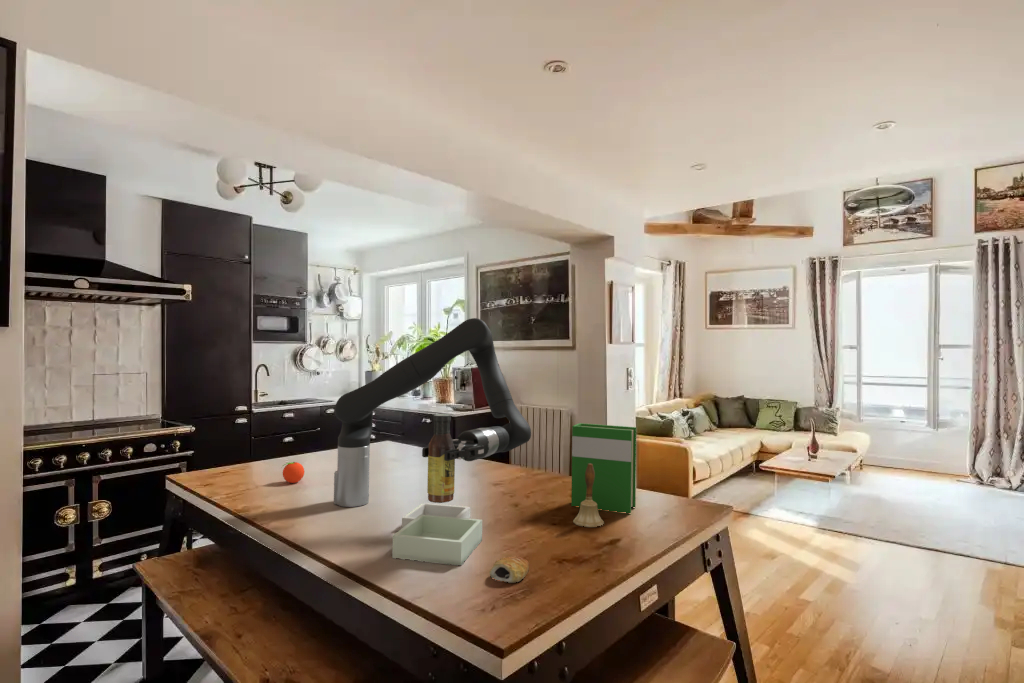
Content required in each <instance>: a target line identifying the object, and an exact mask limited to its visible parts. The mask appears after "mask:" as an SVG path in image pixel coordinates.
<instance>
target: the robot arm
mask: <svg viewBox="0 0 1024 683" xmlns="http://www.w3.org/2000/svg"><path fill="white" fill-rule="evenodd" d="M467 351H468V352H469V353H470V355H471V357H472V358H473V361H474V362H475V364H476V367H477V369H478V372H479V376H480V379H481V384H482V389H483V392H484V395H485V399H486V402H487V405H488V407H489V410H490V412H491V415H492V417H493V418H496V419H502V418H506V419H507V420H508V423H506V424H504V425H502V426H498V425H497V426H495V425H494V426H489V427H479V428H474V429H470V430H464V431H462V432H461V433H460V434H458V436H457V437H456V438H455V439H453V438H452V441H453V444H454V447H455V449H452V450H448V451H445V453H444V460H445V461H450V460H454V459H455V460H463V461H465V462H474V461H477V460H481V459H483V458H484V459H485V458H487V457H490V456H491V455H494V454H497V453H507V452H509V451H512V450H514V449H516V448H518V447H520V446H522V445H525V444H526V443H528V442H529V441H530V440H531V437H532V429H531V427H530V424H529V423H528V421H527V420H526V419H525V417H524V416H523V415H522V413H521V412H520V410H519V409H518V408H517V406H516V404H515V402H514V399H513V396H512V395H511V391H510V389H509V387H508V384H507V381H506V379H505V377H504V375H503V373H502V369H501V367H500V364H499V361H498V358H497V354H496V350H495V344H494V339H493V333H492V331H491V329H490V328H489V326H488V325H487V322H486V321H484V320H482V319H480V318H477V317H473V318H469V319H465V320H464V321H462V322H461V323H459V324H458V325H457V326H456V327H454V328H453V329H452V330H450V331H449V332H447V333H446V334H444V335H443V336H442V337H440V338H439V339H438V340H435V341H434V342H432V343H430V344H428V345H427V346H425V347H424V348H422V349H420V350H419V351H416V352H415V353H412V354H411V355H409V356H407V357H406V358H404V359H402V360H400V361H399V362H398V363H396V364H394V365H393V366H391V367H390V368H389V369H387V370H386V371H384V372H383V373H382V374H380V375H379V376H377V377H376V378H375V379H374V380H372V381H370V382H368V383H366V384H364V385H363V386H360V387H358V388H356V389H353V390H351V391H350V392H349V391H348V392H346V393H344V394H342V395H341V396H340V397H339V398H338V399H337V401H336V402H335V406H334V413H335V416H336V418H337V419H338V420H339V421H341V422H342V423H341V429H340V433H339V434H338V436H337V464H336V465H337V466H336V467H337V469H336V470H335V471H334V473H333V474H334V475H333V504H334V505H337V506H339V507H344V508H345V507H347V508H349V507H350V508H352V507H353V508H354V507H360V506H364V505H367V504H368V503H369V501H370V457H371V456H370V455H371V454H370V452H371V451H370V450H371V449H370V448H371V447H370V446H371V437H372V432H373V419H374V418H373V416H374V415H373V414H374V410H375V409H377V408H379V407H380V406H382V405H383V404H385V403H387V402H389V401H391V400H394V399H396V398H399V397H401V396H404V395H405V394H408V393H410V392H411V391H414V390H416V389H417V388H419V387H421V386H423V385H424V384H426V383H427V382H429V381H430V380H432V379H433V378H434V377H435V376H437V375H438V373H440V371H441V370H442V369H443V368H444V367H445V366H446V365H447V364H448V363H449V362H450V361H451V360H453V359H454V358H456V357H458V356H459V355H461V354H463V353H466V352H467ZM421 451H422V452H421V456H422V457H423V458H428V454H429V443H427V446H424V447H423V448H422V450H421Z"/></svg>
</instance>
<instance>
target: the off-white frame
mask: <svg viewBox="0 0 1024 683" xmlns="http://www.w3.org/2000/svg"><path fill="white" fill-rule="evenodd" d="M421 514H423V515H434V516H445V517H457V518H468V519H469V518H470V519H471V506H465V505H464V506H462V505H454V504H453V505H450V504H441V503H428V502H422V503H421V504H420V505H418V506H416V508H414V509H412V510H411V511H410V512H409V513H407V514H405V515H404V516H402V517H401V529H402V528H403V527H405V526H406V525H407V524H409V523H410V522H411V521H413V520H414V519H415V518H417V517H418V516H419V515H421Z"/></svg>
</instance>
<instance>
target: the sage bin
mask: <svg viewBox="0 0 1024 683" xmlns="http://www.w3.org/2000/svg"><path fill="white" fill-rule="evenodd" d="M482 541H483V519H478V518H477V519H476V518H470V519H468V518H457V517H445V516H434V515H423V514H421V515H419V516H418V517H417V518H415V519H414V520H413V521H411V522H410V523H409V524H407V525H406V526H405V527H403V528H402V527H401V529H399V530H398V531H397V532H395V533H394V534H392V550H391V551H392V556H391V557H392V559H396V558H401V559H400V560H405V559H411V560H410V561H414V560H418V561H417V562H423V561H425V562H424V563H433V564H441V565H442V564H443V563H444V564H443V565H450V564H452V566H458V565H461V566H462V565H464V563H465V562H466V561H467V559H468V558H469V557H470V556H471V555H472V553H473V552H474V551H475V550H476V549H477V547H478V546H479V545H480V543H481V542H482ZM478 544H479V545H478ZM474 549H475V550H474ZM473 550H474V551H473ZM469 555H470V556H469ZM464 561H465V562H464Z"/></svg>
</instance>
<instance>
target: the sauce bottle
mask: <svg viewBox="0 0 1024 683" xmlns="http://www.w3.org/2000/svg"><path fill="white" fill-rule="evenodd" d="M451 416H452V415H451V414H448V413H446V414H445V413H439V414H438V413H437V414H433V416H432V417H433V435H432V436H431V439H430V441H429V454H428V457H427V488H426V489H427V500H428V501H429V502H431V503H433V504H441V503H442V504H443V503H449V502H451V501H453V500H454V493H455V474H456V471H455V470H456V469H455V468H456V467H455V466H456V459H454V460H450V461H445V460H444V453H445V451H448V450H452V449H455V447H454V444H453V441H452V440H453V438H452V436H451V420H452V418H451Z"/></svg>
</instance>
